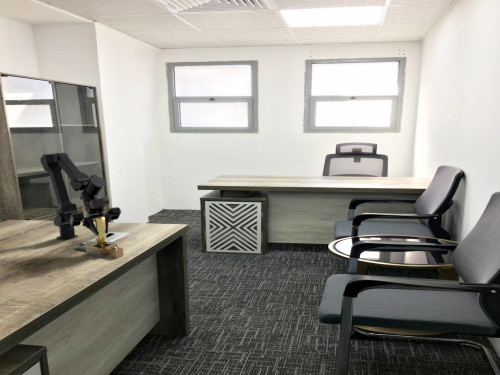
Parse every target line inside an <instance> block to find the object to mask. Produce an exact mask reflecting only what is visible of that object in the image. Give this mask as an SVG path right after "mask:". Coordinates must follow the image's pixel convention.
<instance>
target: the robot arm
mask: <svg viewBox="0 0 500 375" xmlns="http://www.w3.org/2000/svg"><path fill="white" fill-rule="evenodd" d="M39 161H40V164H41V165H42V168H43V170H44V171H45V172H47V173H48V174H49V178H50V180H51V184H52V188H53V191H54V194H55V198H56V201H57V208H56V212H55V213H56V216H55V217H54V219H53V224H54V226H55V227H58V228H59V236H56V239H59V240H62V241H68V240H71V239H74V238H77V237H79V235H77V234H76V233H75V232H76V230H75V227H79V226H81V225H82V227H85V228H86V229H88V230H89V231H91V232H92V233H93V234H94V235H95V236H97V235H98V232H97V229H96V224H95V223H94V220H95V218H96V217H105V225H106V235H108V232H109V223H110V222H111V221H115V220H119V218H120V215H121V213H122V210H121V208H120V207H119V206H117V207H110V208H109V209H108V211H104V210H105V207H106V206H108V205H110V198H109V197H108V196H102V198H101V197H100V198H98V195H100V194H101V192H102V191H103V189H104V188H105V186H106V181H105V179H104V178H102V177H101V176H98V175H97V174H96V173H95V174H91V175H90V176H89V175H88V174H87V173H84V172H82V171H80V169H79V168H78V167H77V166H76V164H75V163H74V161H72V159H71V158H70V157H69V154H68V153H67V152H55V153H45V154H42V156H40V160H39ZM62 170H63V172H64V173H65V175H66V176H67V177H68V179H69V182H70V183H69V185H70V186H71V188H72V189H73V190H74V191H75V192H81V193H80V196H79V200H80V201H81V200H82V203H83V206H84V211H86V213H84V212H82V211H80V212H79V210H78V207H77V204H76V203H73V202H72V201H71V199H70V197H69V193H68V189H67V186H66V183H65V179H64V177H63V173H62Z"/></svg>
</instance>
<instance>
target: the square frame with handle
mask: <svg viewBox="0 0 500 375" xmlns="http://www.w3.org/2000/svg"><path fill="white" fill-rule="evenodd" d="M106 242H107V246H106V247H103V248H97V242H96V243H93V244H92V243H88V242H83V241H82V242H79V243H77V244H75V249H78V250H82V251H85V252H86V255H89V256H93V257H96V258H103V257H108V258H112V259H113V258H114V259H118V258H120V257H121V258H122V257H123V256H124V248H123V247H119V246H118V244H117V243H113V242H109V241H106Z"/></svg>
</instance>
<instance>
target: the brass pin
mask: <svg viewBox="0 0 500 375" xmlns="http://www.w3.org/2000/svg"><path fill="white" fill-rule="evenodd" d="M94 220H95V223H94V224H95V227H96V229H97V232H98V235H97V236H96V235H95V236H96V237H95V238H96V243H97V248H103V247H106V246H107V242H108V241H107V234H106V225H105V217H96V218H95V219H94Z"/></svg>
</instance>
